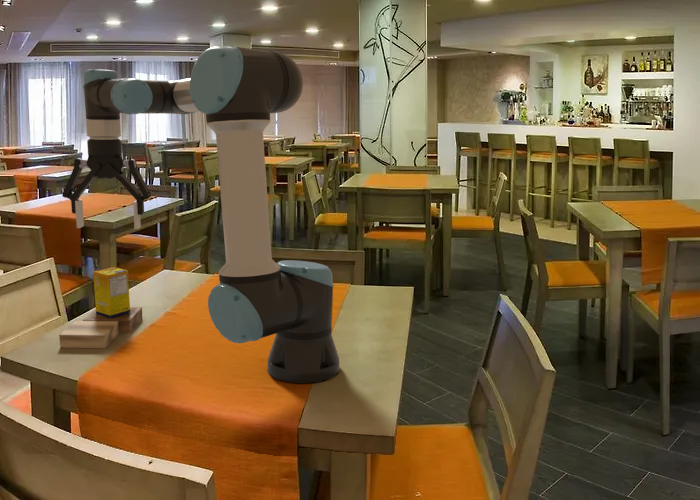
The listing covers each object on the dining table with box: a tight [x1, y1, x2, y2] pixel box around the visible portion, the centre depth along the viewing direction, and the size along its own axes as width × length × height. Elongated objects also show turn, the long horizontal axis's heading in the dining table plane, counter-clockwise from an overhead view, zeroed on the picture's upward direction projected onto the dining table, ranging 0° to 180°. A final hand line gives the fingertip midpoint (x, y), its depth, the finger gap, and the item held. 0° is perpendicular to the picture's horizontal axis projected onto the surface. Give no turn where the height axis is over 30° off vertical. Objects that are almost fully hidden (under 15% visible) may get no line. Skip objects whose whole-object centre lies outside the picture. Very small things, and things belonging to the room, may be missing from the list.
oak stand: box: [58, 320, 120, 349], centre depth 156 cm, size 10×10×3 cm
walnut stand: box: [82, 306, 143, 334], centre depth 166 cm, size 11×11×3 cm
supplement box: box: [92, 266, 131, 318], centre depth 165 cm, size 6×6×11 cm
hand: (109, 227), depth 161 cm, fingers open, 13 cm apart
